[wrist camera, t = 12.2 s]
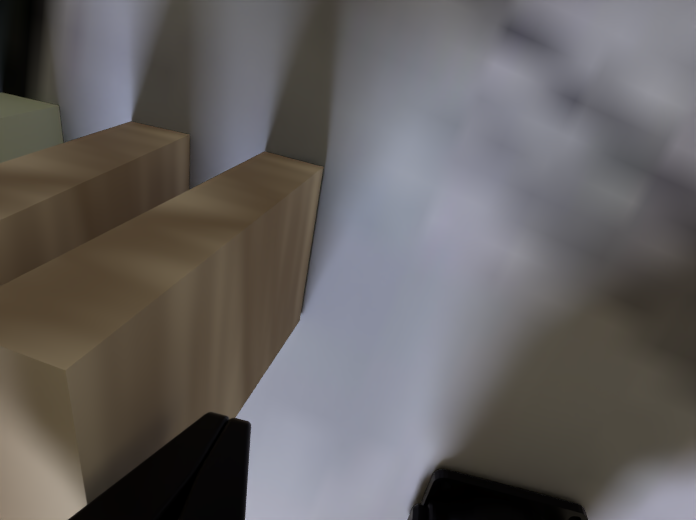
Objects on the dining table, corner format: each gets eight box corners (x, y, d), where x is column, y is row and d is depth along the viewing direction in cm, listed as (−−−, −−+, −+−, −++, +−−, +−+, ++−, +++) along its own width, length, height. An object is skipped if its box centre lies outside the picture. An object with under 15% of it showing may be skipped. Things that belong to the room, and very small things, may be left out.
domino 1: (190, 134, 15) (-173, 298, 6) (188, 289, 17) (-56, 555, 9) (131, 121, 15) (-310, 261, 6) (139, 277, 18) (-152, 528, 9)
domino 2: (323, 166, 14) (65, 370, 6) (299, 320, 17) (104, 614, 8) (264, 151, 14) (-67, 320, 6) (250, 305, 17) (14, 572, 9)
